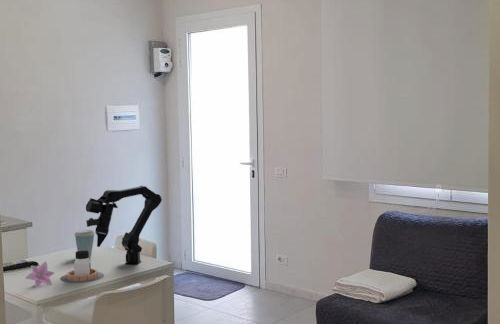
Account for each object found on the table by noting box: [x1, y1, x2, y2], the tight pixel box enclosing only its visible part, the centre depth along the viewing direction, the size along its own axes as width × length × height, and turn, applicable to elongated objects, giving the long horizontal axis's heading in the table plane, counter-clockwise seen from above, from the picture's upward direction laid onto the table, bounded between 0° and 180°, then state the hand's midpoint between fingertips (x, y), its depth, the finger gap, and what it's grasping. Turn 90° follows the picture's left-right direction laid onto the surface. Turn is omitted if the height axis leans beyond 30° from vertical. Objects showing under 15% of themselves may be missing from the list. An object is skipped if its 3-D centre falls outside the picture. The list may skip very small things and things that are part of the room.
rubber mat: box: [59, 271, 105, 284], centre depth 281 cm, size 20×20×1 cm
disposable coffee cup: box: [74, 229, 96, 259], centre depth 320 cm, size 11×11×15 cm
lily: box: [24, 260, 55, 288], centre depth 270 cm, size 12×12×10 cm
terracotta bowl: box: [66, 268, 99, 281], centre depth 281 cm, size 14×14×2 cm
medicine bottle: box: [73, 250, 92, 276], centre depth 281 cm, size 7×7×12 cm
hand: (98, 245), depth 295 cm, fingers open, 9 cm apart
